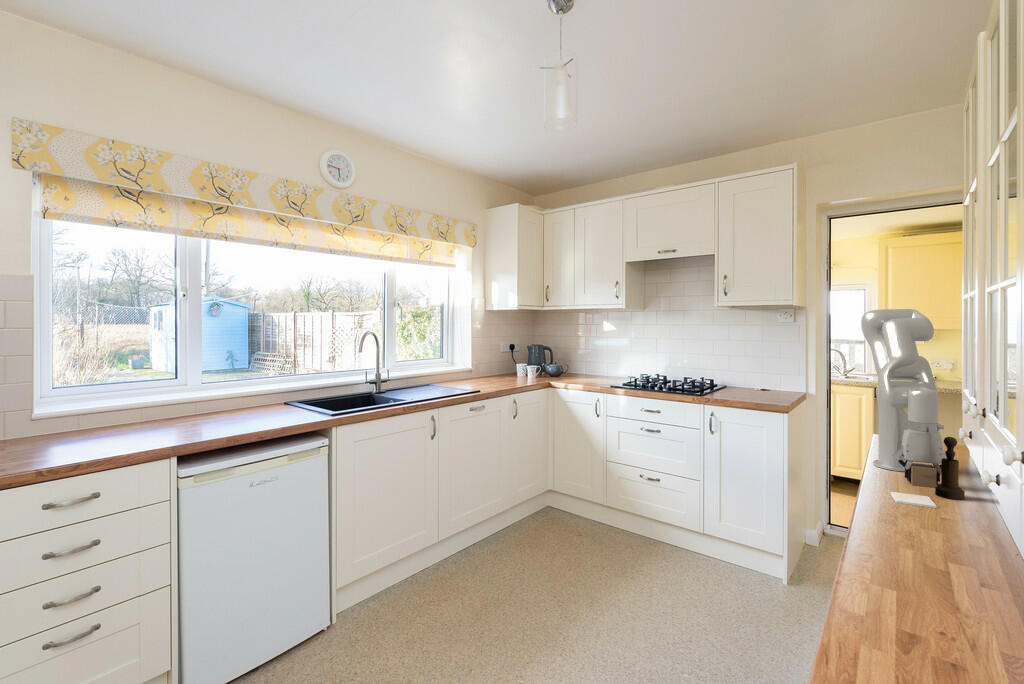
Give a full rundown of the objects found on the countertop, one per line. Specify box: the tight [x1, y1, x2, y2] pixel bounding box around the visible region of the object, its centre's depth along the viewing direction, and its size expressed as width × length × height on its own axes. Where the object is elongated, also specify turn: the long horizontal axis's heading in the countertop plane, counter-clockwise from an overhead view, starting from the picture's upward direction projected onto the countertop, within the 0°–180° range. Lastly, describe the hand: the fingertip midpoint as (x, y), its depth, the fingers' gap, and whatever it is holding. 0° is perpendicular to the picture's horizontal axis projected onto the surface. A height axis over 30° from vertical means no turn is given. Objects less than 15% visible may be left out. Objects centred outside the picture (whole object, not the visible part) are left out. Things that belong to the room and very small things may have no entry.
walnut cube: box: [909, 462, 937, 489], centre depth 158 cm, size 6×6×6 cm
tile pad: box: [890, 491, 938, 509], centre depth 143 cm, size 9×9×1 cm
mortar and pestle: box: [934, 436, 966, 501], centre depth 146 cm, size 7×6×18 cm
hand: (921, 481), depth 158 cm, fingers closed on walnut cube, 6 cm apart
